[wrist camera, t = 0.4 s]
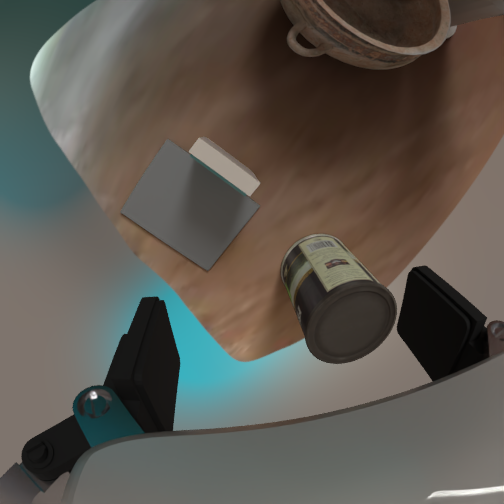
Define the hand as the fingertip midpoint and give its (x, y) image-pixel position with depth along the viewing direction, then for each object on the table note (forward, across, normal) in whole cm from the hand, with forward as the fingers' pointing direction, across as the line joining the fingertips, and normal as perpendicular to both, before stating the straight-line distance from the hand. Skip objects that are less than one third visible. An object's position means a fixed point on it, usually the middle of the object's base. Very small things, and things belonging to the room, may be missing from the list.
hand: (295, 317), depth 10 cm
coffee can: (+28, -9, +12) cm, 32 cm away
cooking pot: (+28, -14, -23) cm, 39 cm away
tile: (+27, +2, -3) cm, 28 cm away
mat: (+27, +7, +2) cm, 28 cm away
